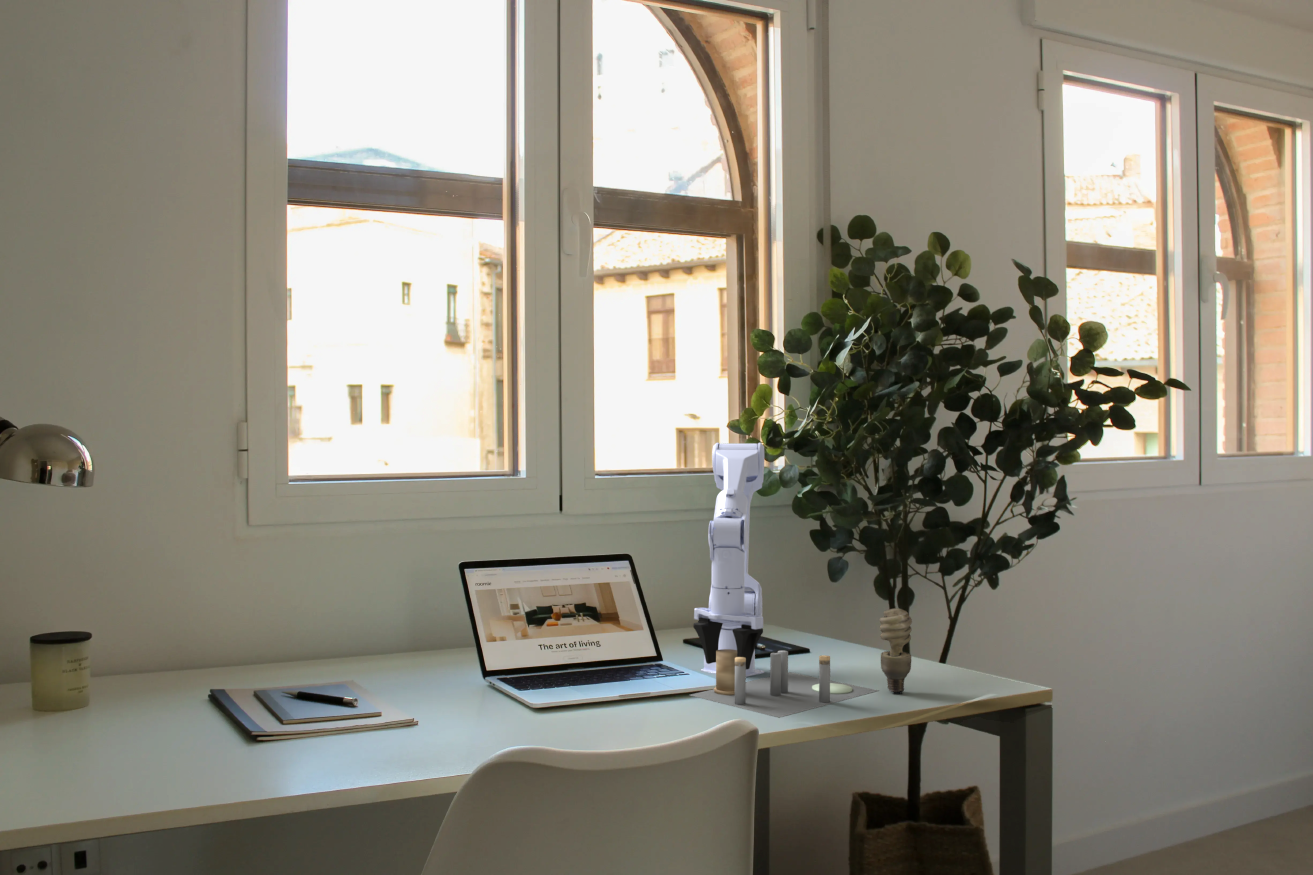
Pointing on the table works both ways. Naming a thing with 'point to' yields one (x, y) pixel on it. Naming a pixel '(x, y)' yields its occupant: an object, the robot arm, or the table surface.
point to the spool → (725, 671)
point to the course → (782, 689)
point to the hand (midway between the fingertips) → (727, 665)
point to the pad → (835, 688)
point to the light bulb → (896, 648)
